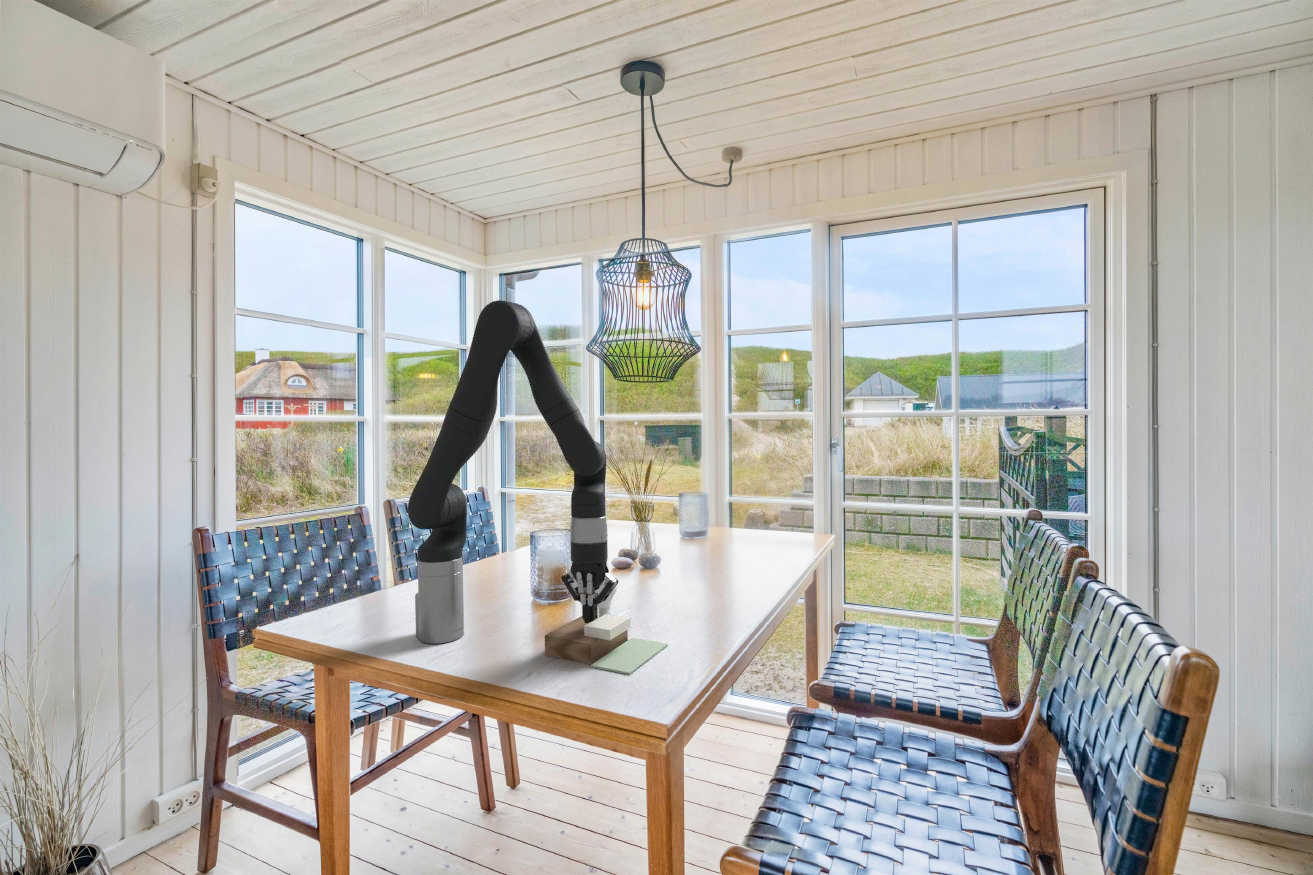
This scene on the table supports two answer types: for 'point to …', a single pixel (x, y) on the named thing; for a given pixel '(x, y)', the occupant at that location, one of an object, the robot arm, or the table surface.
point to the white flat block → (607, 627)
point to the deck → (579, 643)
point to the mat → (629, 656)
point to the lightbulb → (606, 601)
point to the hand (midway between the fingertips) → (590, 622)
